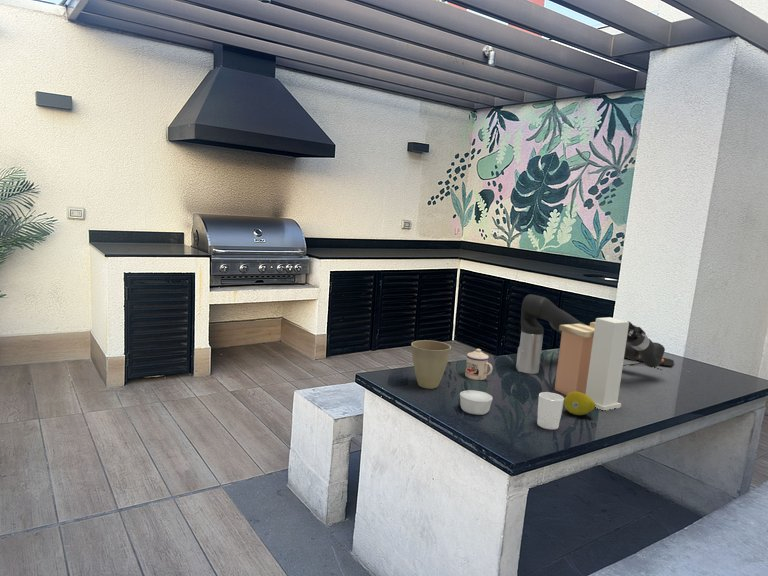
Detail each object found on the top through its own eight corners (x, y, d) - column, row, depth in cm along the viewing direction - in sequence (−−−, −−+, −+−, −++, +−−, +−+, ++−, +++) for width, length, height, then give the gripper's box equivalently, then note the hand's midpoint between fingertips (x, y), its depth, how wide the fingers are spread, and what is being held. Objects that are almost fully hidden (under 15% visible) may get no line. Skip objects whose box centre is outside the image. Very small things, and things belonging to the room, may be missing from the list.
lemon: (557, 411, 196) (560, 389, 194) (569, 407, 201) (572, 386, 199) (585, 422, 187) (588, 399, 186) (597, 417, 192) (600, 395, 191)
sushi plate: (674, 363, 278) (675, 356, 277) (668, 377, 252) (670, 369, 252) (612, 351, 292) (613, 344, 292) (601, 363, 267) (602, 355, 266)
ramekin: (468, 401, 199) (470, 387, 198) (497, 410, 192) (498, 396, 191) (452, 409, 190) (453, 394, 189) (480, 419, 183) (482, 403, 182)
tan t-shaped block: (596, 327, 227) (597, 318, 227) (621, 334, 217) (623, 325, 217) (558, 330, 216) (560, 321, 215) (584, 337, 206) (585, 328, 205)
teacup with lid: (459, 375, 228) (462, 348, 227) (473, 372, 235) (476, 345, 233) (483, 383, 220) (486, 355, 218) (497, 380, 226) (500, 352, 224)
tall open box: (571, 387, 224) (579, 329, 220) (592, 395, 216) (600, 335, 212) (554, 390, 219) (562, 330, 215) (574, 398, 211) (583, 336, 207)
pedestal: (597, 398, 213) (609, 316, 208) (620, 407, 205) (633, 322, 200) (580, 401, 208) (591, 317, 203) (603, 411, 199) (615, 323, 194)
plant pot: (436, 378, 222) (440, 339, 220) (453, 391, 208) (457, 350, 206) (402, 380, 217) (405, 340, 214) (417, 393, 203) (421, 350, 201)
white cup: (543, 431, 177) (547, 401, 175) (530, 421, 184) (534, 392, 183) (565, 430, 179) (569, 400, 178) (551, 420, 187) (555, 391, 185)
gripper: (625, 326, 239) (606, 309, 231) (656, 334, 227) (637, 316, 219) (617, 341, 238) (598, 325, 230) (648, 350, 226) (629, 333, 218)
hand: (617, 320), depth 224 cm, fingers open, 8 cm apart
